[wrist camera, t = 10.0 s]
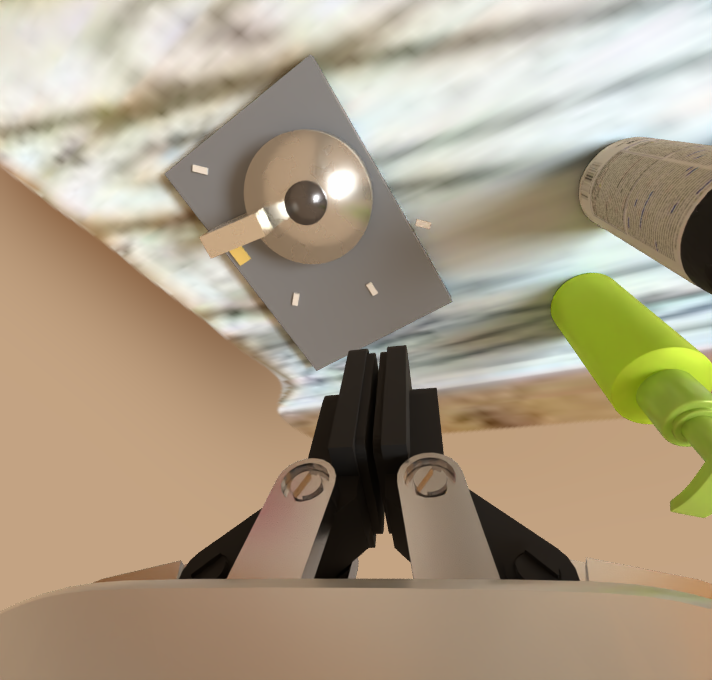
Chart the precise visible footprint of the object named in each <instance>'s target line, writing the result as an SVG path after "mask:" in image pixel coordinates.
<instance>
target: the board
mask: <svg viewBox="0 0 712 680" xmlns="http://www.w3.org/2000/svg"><path fill="white" fill-rule="evenodd" d="M300 129H318V130H322V131H326V132H329V133H331V134H334V135H336V136H338V137H339V138H341V139H343V140H344V141H345V142H347V143H348V144H349V145H350V146H351V147H352V148H353V149H354V150H355V151H356V152H357V153H358V154H359V156H360V157H361V158H362V160H363V162H364V163H365V165H366V167H367V170H368V172H369V175H370V178H371V181H372V187H373V208H372V212H371V216H370V220H369V223H368V225H367V228H366V230H365V232H364V234H363V236H362V237H361V239H360V240H359V242H358V243H357V244H356V245H355V246H354V247H353V248H352V249H351V250H350V251H349V252H348V253H346V254H345V255H343V256H342V257H340V258H338V259H336V260H333V261H330V262H327V263H322V264H302V263H298V262H294V261H291V260H289V259H286V258H284V257H282V256H280V255H279V254H277V253H276V252H274V251H273V250H272V249H270V248H269V247H268V246H267V245H266V244H265V243H264V242H263V241H262V240H261V239H257V240H255V241H253V242H250V243H248V244H245V245H243V246H240V247H238V248H236V249H233V250H231V251H228V252H226V254H227V256H228V257H229V258H230V260H231V261H232V262H233V263H234V265H235V266H236V267H237V269H238V270H239V271H240V272H241V274H242V275H243V276H244V278H245V279H246V280H247V282H248V283H249V284H250V285H251V287H252V288H253V289H254V291H255V292H256V293H257V294H258V296H259V297H260V298H261V300H262V301H263V302H264V304H265V305H266V306H267V307H268V309H269V310H270V311H271V313H272V314H273V315H274V316H275V318H276V319H277V320H278V322H279V323H280V324H281V325H282V327H283V328H284V329H285V331H286V332H287V333H288V335H289V336H290V337H291V338H292V340H293V341H294V342H295V344H296V345H297V346H298V347H299V349H300V350H301V351H302V353H303V354H304V355H305V356H306V358H307V359H308V360H309V362H310V363H311V364H312V366H313V367H314V368H315V369H316V371H317V370H319V369H321V368H323V367H325V366H327V365H329V364H331V363H333V362H335V361H337V360H339V359H341V358H343V357H345V356H347V355H348V352H349V351H350V350H358V349H360V348H362V347H364V346H366V345H368V344H370V343H372V342H374V341H376V340H378V339H380V338H382V337H384V336H386V335H388V334H390V333H392V332H394V331H396V330H398V329H400V328H402V327H404V326H406V325H408V324H409V323H411V322H413V321H415V320H417V319H419V318H421V317H423V316H425V315H427V314H429V313H431V312H433V311H435V310H437V309H439V308H441V307H443V306H445V305H447V304H449V303H451V302H452V299H451V296H450V294H449V292H448V291H447V289H446V287H445V285H444V284H443V282H442V280H441V278H440V277H439V275H438V273H437V271H436V270H435V268H434V266H433V264H432V263H431V261H430V259H429V257H428V256H427V254H426V252H425V250H424V249H423V247H422V245H421V243H420V242H419V240H418V238H417V237H416V235H415V233H414V231H413V230H412V228H411V226H410V224H409V223H408V221H407V219H406V217H405V216H404V214H403V212H402V210H401V209H400V207H399V205H398V203H397V202H396V200H395V198H394V196H393V195H392V193H391V191H390V189H389V188H388V186H387V184H386V182H385V181H384V179H383V177H382V176H381V174H380V172H379V170H378V169H377V167H376V165H375V163H374V162H373V160H372V158H371V156H370V155H369V153H368V151H367V149H366V148H365V146H364V144H363V142H362V141H361V139H360V137H359V135H358V134H357V132H356V130H355V128H354V127H353V125H352V123H351V121H350V120H349V118H348V116H347V115H346V113H345V111H344V109H343V108H342V106H341V104H340V102H339V101H338V99H337V97H336V95H335V94H334V92H333V90H332V88H331V87H330V85H329V83H328V81H327V80H326V78H325V76H324V74H323V73H322V71H321V69H320V67H319V66H318V64H317V62H316V60H315V59H314V57H313V56H312V55H309V56H308V57H306V58H305V59H304V60H303V61H302V62H300V63H299V64H298V65H297V66H295V67H294V68H293V69H292V70H291V71H289V72H288V73H287V74H286V75H285V76H283V77H282V78H281V79H280V80H278V81H277V82H276V83H275V84H274V85H272V86H271V87H270V88H269V89H267V90H266V91H265V92H264V93H263V94H261V95H260V96H259V97H258V98H256V99H255V100H254V101H253V102H252V103H250V104H249V105H248V106H247V107H245V108H244V109H243V110H242V111H241V112H239V113H238V114H237V115H236V116H234V117H233V118H232V119H231V120H230V121H228V122H227V123H226V124H225V125H224V126H222V127H221V128H220V129H219V130H217V131H216V132H215V133H214V134H213V135H211V136H210V137H209V138H208V139H206V140H205V141H204V142H203V143H202V144H200V145H199V146H198V147H197V148H195V149H194V150H193V151H192V152H191V153H189V154H188V155H187V156H186V157H184V158H183V159H182V160H181V161H180V162H178V163H177V164H176V165H175V166H173V167H172V168H171V169H170V170H169V171H167V172H166V173H165V176H166V177H167V178H168V179H169V181H170V182H171V183H172V185H173V186H174V187H175V188H176V190H177V191H178V192H179V194H180V195H181V196H182V198H183V199H184V200H185V201H186V203H187V204H188V205H189V207H190V208H191V209H192V210H193V212H194V213H195V214H196V216H197V217H198V218H199V220H200V221H201V222H202V223H203V225H204V226H205V227H206V229H207V230H208V231H210V230H212V229H213V228H215V227H216V226H218V225H220V224H222V223H224V222H227V221H229V220H231V219H234V218H236V217H238V216H240V215H243V214H245V213H247V212H246V208H245V202H244V182H245V177H246V173H247V170H248V167H249V165H250V163H251V161H252V159H253V158H254V156H255V155H256V153H257V152H258V151H259V150H260V149H261V147H262V146H263V145H265V144H266V143H267V142H268V141H270V140H271V139H273V138H275V137H276V136H278V135H281V134H283V133H286V132H290V131H295V130H300ZM415 226H419V227H423V228H427V229H430V226H431V222H427V221H423V220H419V219H417V221H416V224H415Z"/></svg>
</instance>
